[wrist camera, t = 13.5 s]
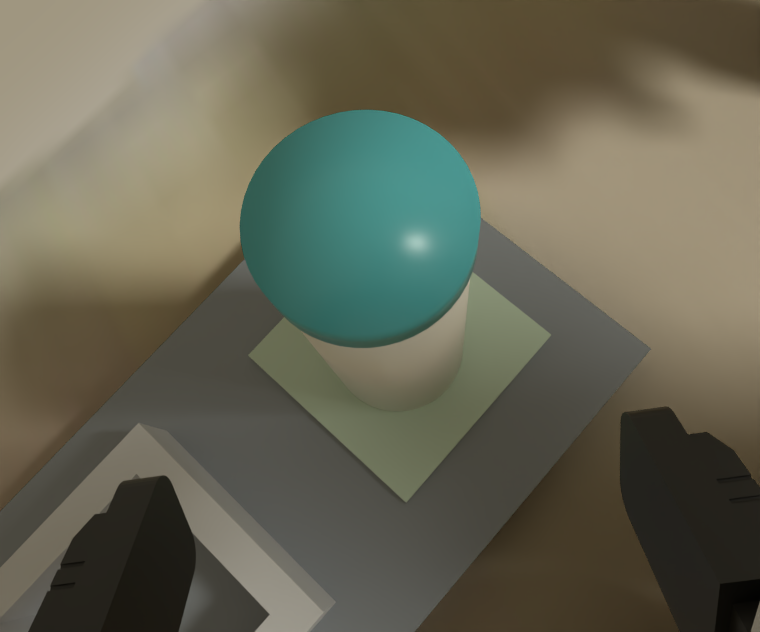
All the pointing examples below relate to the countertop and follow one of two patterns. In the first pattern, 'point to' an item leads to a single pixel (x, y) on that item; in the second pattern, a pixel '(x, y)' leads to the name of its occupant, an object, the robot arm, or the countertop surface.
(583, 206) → the countertop surface
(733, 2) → the countertop surface
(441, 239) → the ball
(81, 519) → the board
